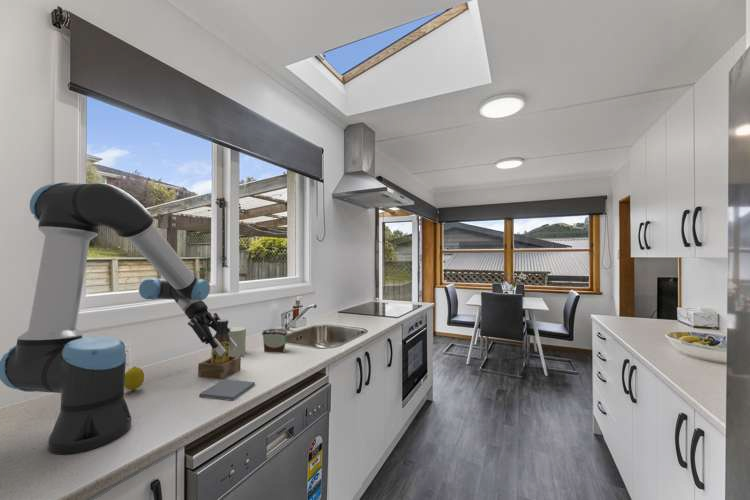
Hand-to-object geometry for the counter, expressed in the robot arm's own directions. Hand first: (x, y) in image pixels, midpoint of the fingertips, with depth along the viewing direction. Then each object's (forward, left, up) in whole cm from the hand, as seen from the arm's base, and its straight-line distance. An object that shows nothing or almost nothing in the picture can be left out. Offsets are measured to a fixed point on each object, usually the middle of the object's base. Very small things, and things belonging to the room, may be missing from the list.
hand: (228, 350), depth 118 cm
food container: (+31, -3, -9) cm, 33 cm away
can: (+22, +13, -9) cm, 27 cm away
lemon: (-20, +21, -9) cm, 30 cm away
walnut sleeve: (0, +4, -9) cm, 9 cm away
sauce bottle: (0, +4, -9) cm, 9 cm away
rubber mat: (-13, -9, -9) cm, 18 cm away
